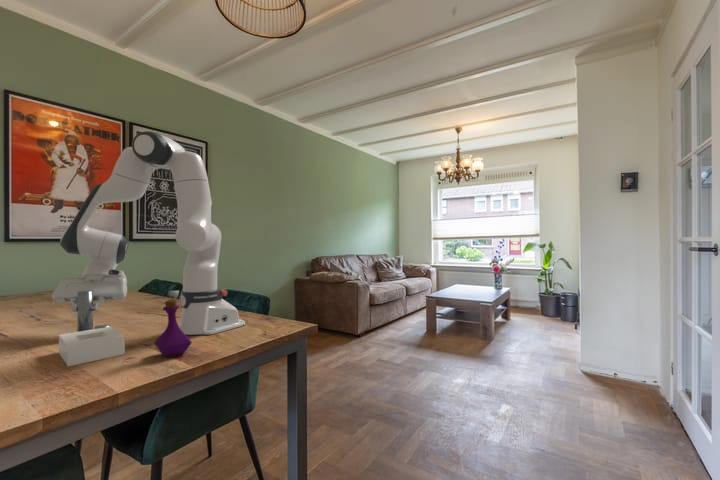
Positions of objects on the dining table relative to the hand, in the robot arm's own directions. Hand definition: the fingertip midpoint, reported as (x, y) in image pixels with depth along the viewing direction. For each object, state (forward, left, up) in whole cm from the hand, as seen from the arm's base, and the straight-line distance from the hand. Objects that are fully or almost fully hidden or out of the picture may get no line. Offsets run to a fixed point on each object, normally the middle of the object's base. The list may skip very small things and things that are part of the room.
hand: (84, 310), depth 108 cm
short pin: (-3, +8, -9) cm, 13 cm away
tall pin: (0, -1, -9) cm, 9 cm away
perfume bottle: (-13, +39, -9) cm, 43 cm away
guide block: (+2, +21, -9) cm, 23 cm away
